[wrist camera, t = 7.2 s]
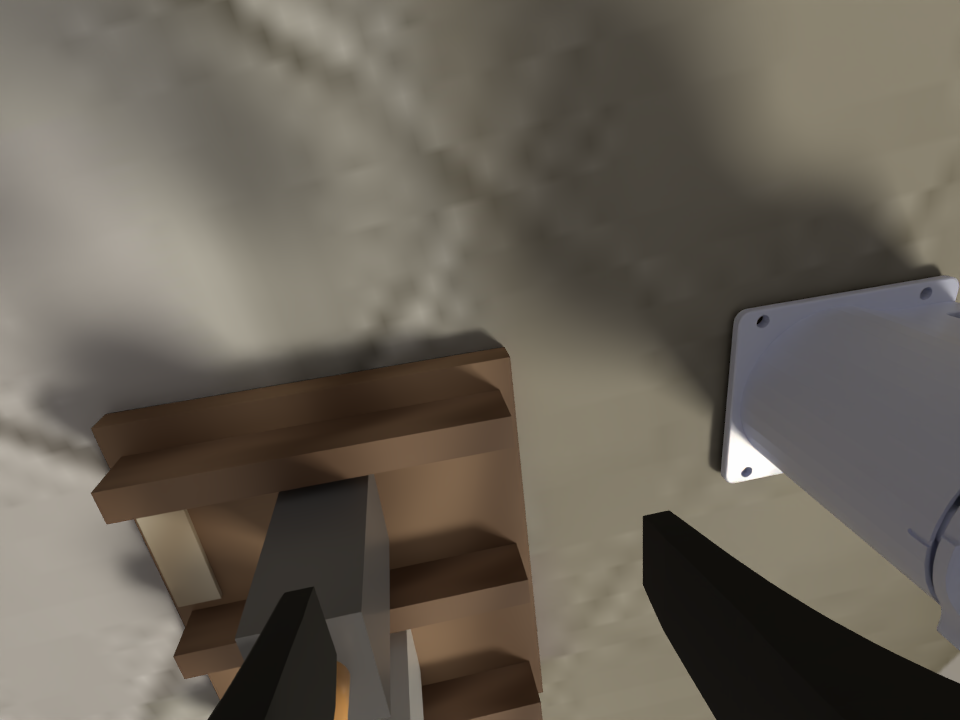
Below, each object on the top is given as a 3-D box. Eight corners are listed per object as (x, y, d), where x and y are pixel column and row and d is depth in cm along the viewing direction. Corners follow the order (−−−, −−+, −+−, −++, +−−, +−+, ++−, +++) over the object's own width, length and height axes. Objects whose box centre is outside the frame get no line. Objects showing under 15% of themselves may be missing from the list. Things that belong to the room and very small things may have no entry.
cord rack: (504, 347, 20) (523, 381, 17) (537, 673, 27) (554, 734, 24) (105, 414, 18) (55, 463, 15) (254, 740, 25) (238, 812, 23)
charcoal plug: (369, 455, 19) (358, 667, 12) (389, 539, 21) (391, 776, 13) (285, 470, 19) (215, 699, 11) (312, 555, 21) (267, 807, 13)
